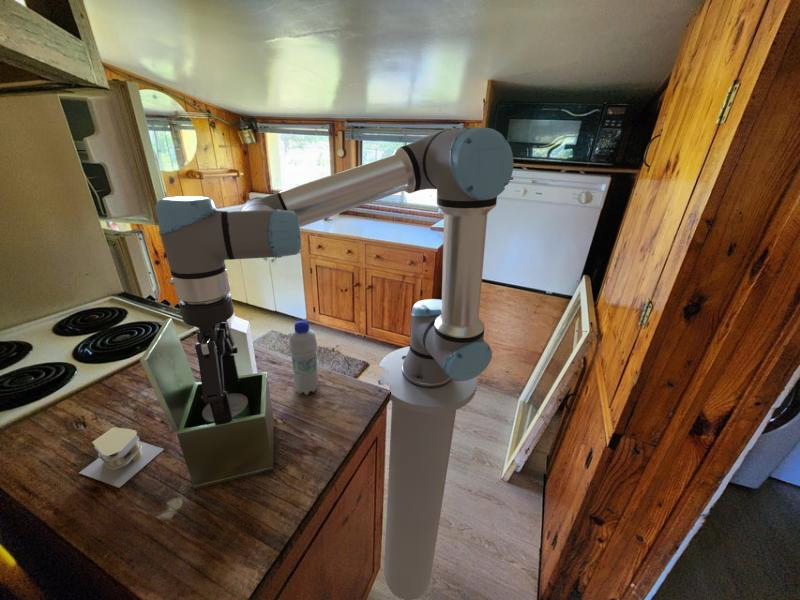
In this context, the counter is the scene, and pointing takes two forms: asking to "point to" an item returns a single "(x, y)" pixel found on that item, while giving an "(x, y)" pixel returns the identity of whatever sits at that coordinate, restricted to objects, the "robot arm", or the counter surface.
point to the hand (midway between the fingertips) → (228, 401)
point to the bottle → (304, 358)
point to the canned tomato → (236, 404)
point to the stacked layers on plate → (119, 456)
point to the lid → (169, 373)
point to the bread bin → (229, 436)
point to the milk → (242, 346)
